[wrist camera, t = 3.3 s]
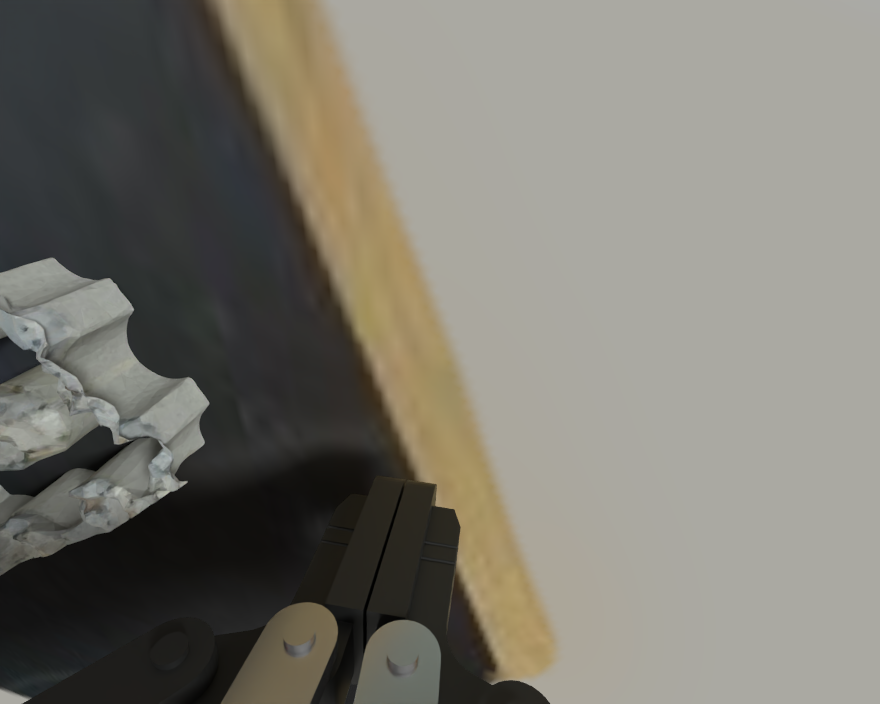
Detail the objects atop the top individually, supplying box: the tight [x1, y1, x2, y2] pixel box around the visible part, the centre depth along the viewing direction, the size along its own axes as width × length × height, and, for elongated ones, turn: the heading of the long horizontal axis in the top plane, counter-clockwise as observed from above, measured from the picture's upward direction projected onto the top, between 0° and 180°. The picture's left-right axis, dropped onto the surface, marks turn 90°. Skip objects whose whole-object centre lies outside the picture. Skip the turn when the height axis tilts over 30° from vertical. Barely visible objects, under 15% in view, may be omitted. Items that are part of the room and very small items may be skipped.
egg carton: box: [0, 258, 209, 576], centre depth 14 cm, size 11×8×4 cm
